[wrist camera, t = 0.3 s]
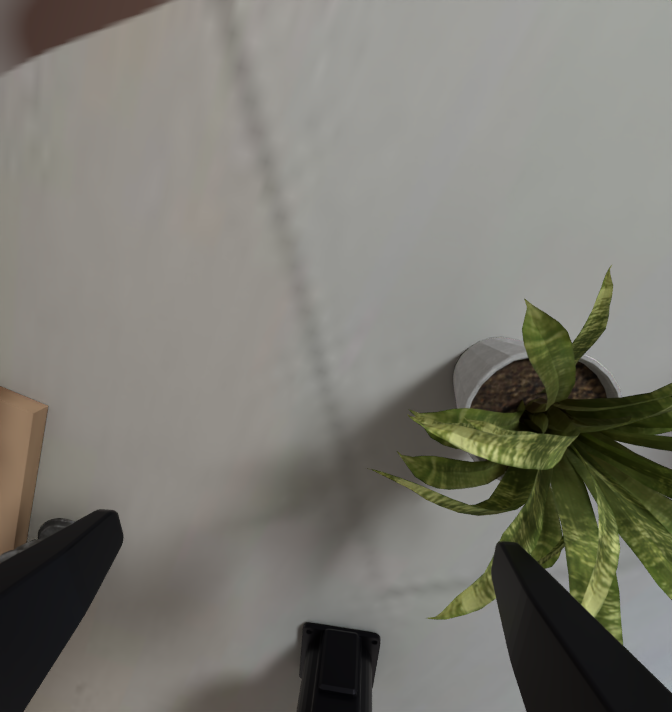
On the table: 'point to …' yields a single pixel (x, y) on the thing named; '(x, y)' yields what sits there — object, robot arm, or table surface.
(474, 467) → the house plant
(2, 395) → the shelf board
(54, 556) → the robot arm
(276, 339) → the table surface
